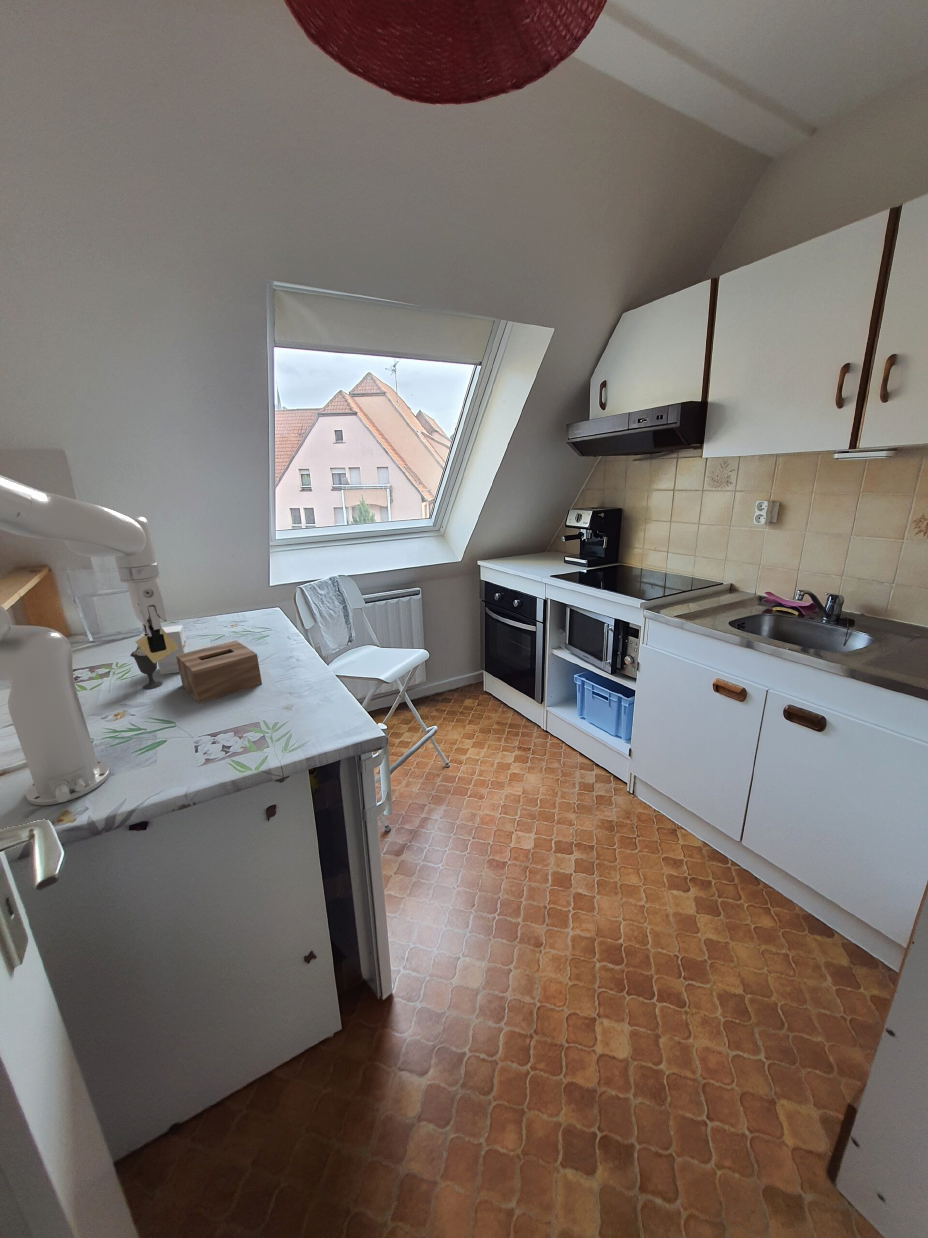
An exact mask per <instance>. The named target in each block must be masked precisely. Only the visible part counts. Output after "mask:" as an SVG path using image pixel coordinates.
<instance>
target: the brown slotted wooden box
mask: <svg viewBox="0 0 928 1238" xmlns="http://www.w3.org/2000/svg"><path fill="white" fill-rule="evenodd" d="M176 658H177V663H178V667H179V672H178V673H179V675H180V681H181V684H182V687H184V689H185V690H186V691H188V693H190V695H191V696H192V697H193V698H194V699H195V700H196V702H198V703H199V704H202V703H205V702H209V701H211V700H215V699H218V698H221V697H225V696H227V695H228V696H229V695H231V694H235V693H238V692H241V691H244V690H247V689H251V688H253V687H256V686H260V685H262V684H263V682H262V677H261V676H262V675H261V670H260V665H259V657H258V653H256V652H255V651H253V650H252V649H250V648H248V647H247V646H245V645H244V644H243V643H241V642H240V641H237V640H233V641H228V642H224V643H220V644H216V645H211V646H208V647H204V648H200V649H195V650H192V651H188V652H187V653H183V654H178V655H176Z"/></svg>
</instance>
